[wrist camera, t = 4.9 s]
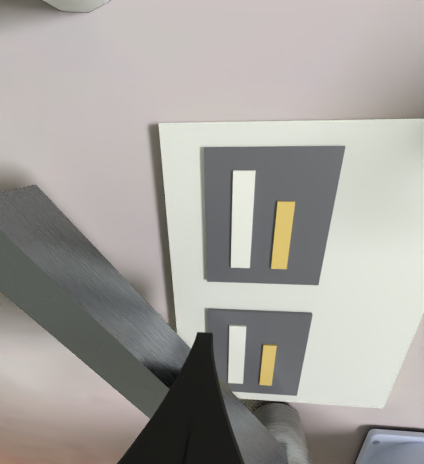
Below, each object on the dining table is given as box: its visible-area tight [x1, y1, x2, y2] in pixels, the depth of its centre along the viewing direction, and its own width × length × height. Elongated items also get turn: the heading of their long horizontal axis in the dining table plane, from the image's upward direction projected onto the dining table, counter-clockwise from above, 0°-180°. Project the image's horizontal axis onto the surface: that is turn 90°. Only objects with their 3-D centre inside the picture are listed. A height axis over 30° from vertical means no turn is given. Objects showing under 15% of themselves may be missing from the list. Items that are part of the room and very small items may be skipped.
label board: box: [158, 119, 424, 408], centre depth 13 cm, size 18×14×1 cm
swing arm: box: [0, 185, 312, 464], centre depth 12 cm, size 23×4×6 cm, turn 35°
